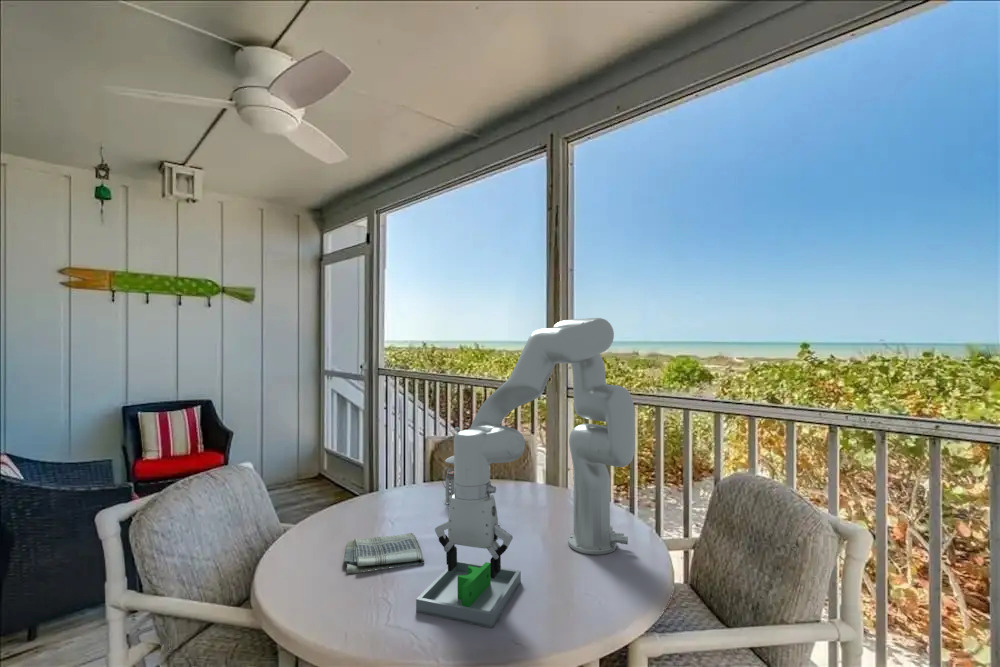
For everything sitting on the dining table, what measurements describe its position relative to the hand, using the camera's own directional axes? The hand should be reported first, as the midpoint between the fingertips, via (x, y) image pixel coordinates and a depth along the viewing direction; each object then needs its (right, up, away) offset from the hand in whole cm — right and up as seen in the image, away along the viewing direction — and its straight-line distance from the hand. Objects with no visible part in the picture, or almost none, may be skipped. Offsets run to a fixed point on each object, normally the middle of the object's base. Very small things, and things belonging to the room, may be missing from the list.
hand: (473, 571), depth 97 cm
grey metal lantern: (-10, -7, +60) cm, 61 cm away
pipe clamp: (0, -5, -1) cm, 5 cm away
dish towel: (-24, -6, +20) cm, 32 cm away
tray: (0, -5, 0) cm, 5 cm away
